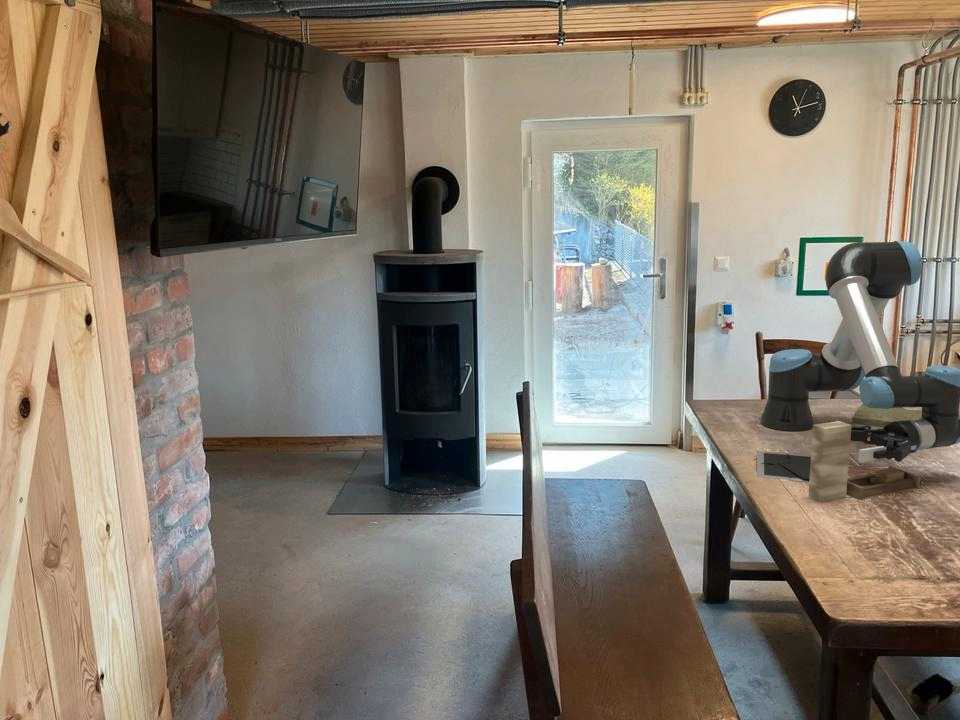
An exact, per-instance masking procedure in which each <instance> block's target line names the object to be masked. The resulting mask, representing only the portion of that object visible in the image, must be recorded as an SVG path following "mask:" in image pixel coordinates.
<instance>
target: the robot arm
mask: <svg viewBox="0 0 960 720" xmlns="http://www.w3.org/2000/svg"><path fill="white" fill-rule="evenodd" d="M825 269H826V270H825V275H824V276H825V277H824V278H825V285H826V290H827V292H828V294H829V297H830V298H831V299H834V300H835V301H836V304H837V306H838V308H839V311H840V314H841V317H842V319H841V322H840V323H839V325H838V328H837V330H836V333H835V334H834V336H833V339H832V341H830V342H827V343H826V344H824V345H823V347H822V349H821V350H820V353H812V351H811V350H809V349H804V348H803V349H802V348H799V349H797V348H796V349H795V348H791V349H784V350H780V351H776V352H775V353H774V354H772V355H771V357H770V361H769V366H768V370H769V371H768V373H769V374H768V393H767V394H768V395H767V401H766V403H765V406H764V410H763V412H762V413H761V415H760V424H761V425H763V427H767V428H770V429H773V430H778V431H788V432H803V431H808V430H811V429H813V425H814V417H813V416H812V410H811V406H810V403H809V399H810V397H809V396H810V392H811V393H812V392H846V391H852V390H855V389H857V388H858V387H859V388H858V391H859V398H860V401H861V403H862V404H864V405H865V406H867V407H869V408H879V409H889V408H921V411H922V417H921V418H914V419H907V420H902V421H895V422H890V423H888V424H887V425H886V426H885V427H884V428H883V427H882V428H877V429H876V428H875V429H873V428H872V426H868V425H861V426H860V425H858V426H856V425H855V426H853V425H852V426H851V439H850V442H860V443H861V442H862V443H863V444H865V445H873V446H874V447H867V448H860V449H858V459H857V461H858V462H859V463H865V462H872V461H878V460H883V459H886V460H892V459H894V461H896V462H902V461H903V460H905V458H906V457H908V456H909V455H911V454H913V453H917V452H918V451H923V450H928V449H936V448H945V447H946V448H947V447H950V446H954V445H957V444H960V414H959V413H960V411H959V410H960V369H959V368H957V367H955V366H950V365H939V364H937V365H930V366H927V367H926V368H925V372H924V375H902V373H901V370H900V368H899V366H898V363H897V360H896V358H895V356H894V353H893V350H892V348H891V345H890V343H889V341H888V339H887V338H888V337H887V336H886V333H885V331H884V328H883V326H882V323H881V321H880V318H881V316H882V314H883V312H884V311H885V308H886V307H887V305H888V303H889V301H890V300H893V299H895V298H898V296H900V293H901V292H902V290H903V288H904V286H911V285H915V284H916V283H918V281H919V280H920V278H921V276H922V271H923V262H922V257H921V253H920V250H919V249H918V247H917V246H916V245H915V244H914V243H912V242H910V241H899V240H894V241H871V242H867V241H866V242H861V241H860V242H858V241H857V242H852V243H848V244H846V245H844V246H842V247H841V248H839V249H838V250H836V251H835V252H834V254H833V255H832V256H831V257H830V259H829V261H828V264H827V266H826V268H825ZM811 434H813V432H812V433H811ZM868 438H869V439H868Z"/></svg>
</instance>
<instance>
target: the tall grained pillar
mask: <svg viewBox="0 0 960 720" xmlns="http://www.w3.org/2000/svg"><path fill="white" fill-rule="evenodd" d="M851 426H853V425H852V424H850V423H847V422H843V421H839V420H836V421H831V422H825V423H816V424H813V428H812V433H813V434H812V433H811V434H812V435H811V438H812V439H811V449H810V450H811V453H810V455H811V465H810V480H809V482H808V484H809V485H808V498H809V499H811V500H814V501H816V502H818V503H825V502H829V501H835V500H841V499H845V498H847V494H846V491H847V479H848V474H849V461H850V450H851V441H850V439H851Z"/></svg>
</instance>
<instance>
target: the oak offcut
mask: <svg viewBox="0 0 960 720" xmlns="http://www.w3.org/2000/svg"><path fill="white" fill-rule="evenodd" d="M874 474H875V478H876V479H879V480H881V481H884V482H885V483H888V482H893V481H898V480H904V472H902V471H899V470H896V469H893V468H883V469H877V470H875V473H874Z"/></svg>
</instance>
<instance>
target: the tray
mask: <svg viewBox="0 0 960 720" xmlns="http://www.w3.org/2000/svg"><path fill="white" fill-rule="evenodd" d="M888 468H893V469H896V470H899V471H902V472H904V480H898V481H893V482H888V483H885V482H884V481H881V480H879V479H876V478H875V473H870V474H865V475H860V476H855V477H849V478H847V491H846V496H847V495H848V496H850V497H852V498H855V499H856V500H859V501H862V500H868V499H872V498H876V497H877V498H878V497H881V496H882V497H883V496H888V495H893V494H897V493H903V492H907V491H913V490H916V489H920V488H921V487H920V485H921V476H920V475H916V474H914V473H911V472H909V471H907V470H906V471H905V470H903V469H900V468H897V467H894V466H891V465H889V466H888Z"/></svg>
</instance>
